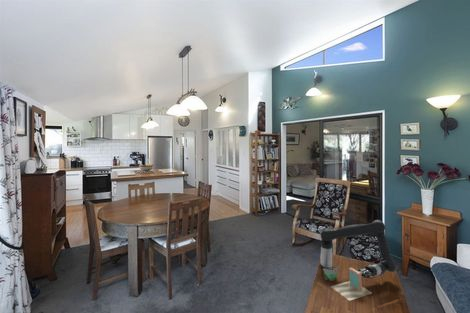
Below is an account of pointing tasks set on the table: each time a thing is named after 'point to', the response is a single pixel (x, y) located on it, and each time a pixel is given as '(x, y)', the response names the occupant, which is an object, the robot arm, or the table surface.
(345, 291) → the board
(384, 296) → the table surface
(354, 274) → the tile
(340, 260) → the table surface
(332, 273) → the food container
